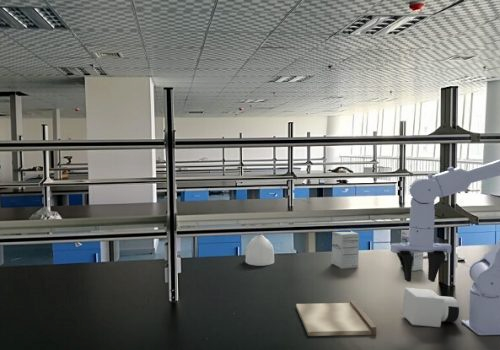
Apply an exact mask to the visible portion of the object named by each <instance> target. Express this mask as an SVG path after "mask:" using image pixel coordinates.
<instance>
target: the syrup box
mask: <svg viewBox="0 0 500 350" xmlns="http://www.w3.org/2000/svg"><path fill="white" fill-rule="evenodd" d="M400 230H401V229H400ZM400 235H401V236H400V243H406V242H409V230H401V232H400ZM410 254H411V256H413V257H414V259H413V263H412V269H411V272H413V271H415V272H416V271H420V270H421V271H422V270H423V269H424V252H410ZM399 262H400V261H399ZM401 267H402V265H401V262H400V264H399V268H401Z"/></svg>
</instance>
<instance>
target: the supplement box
mask: <svg viewBox="0 0 500 350" xmlns="http://www.w3.org/2000/svg"><path fill="white" fill-rule="evenodd" d="M350 231H351V232H332V231H331V234H332V236H331V238H332V239H331V245H332V246H331V264H332V265H333V266H336V267H338V268H339V269H341V270H342V269H352V268H359V250H360V249H359V244H360V243H359V242H360V233H358V232H356V231H355V232H354V231H353V230H350Z"/></svg>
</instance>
